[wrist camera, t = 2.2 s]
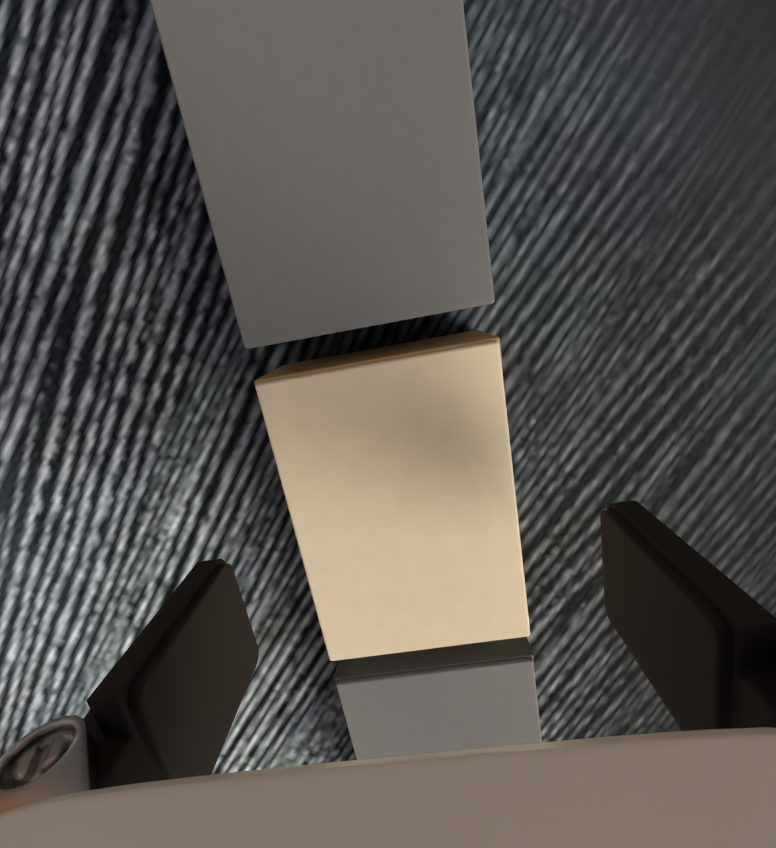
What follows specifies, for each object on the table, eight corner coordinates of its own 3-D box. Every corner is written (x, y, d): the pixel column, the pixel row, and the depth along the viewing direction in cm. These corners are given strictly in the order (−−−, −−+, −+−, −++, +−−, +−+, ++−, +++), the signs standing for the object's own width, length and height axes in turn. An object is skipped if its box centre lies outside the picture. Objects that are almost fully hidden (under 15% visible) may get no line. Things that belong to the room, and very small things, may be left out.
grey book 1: (191, -5, 12) (113, -120, 9) (431, -66, 12) (443, -213, 8) (277, 339, 15) (242, 350, 12) (474, 302, 14) (497, 302, 11)
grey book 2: (345, 612, 18) (333, 682, 15) (509, 590, 18) (534, 658, 14) (387, 778, 21) (384, 869, 18) (529, 763, 20) (555, 854, 17)
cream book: (283, 364, 15) (250, 381, 12) (477, 328, 15) (501, 336, 11) (341, 595, 18) (327, 662, 15) (507, 572, 17) (532, 636, 14)
